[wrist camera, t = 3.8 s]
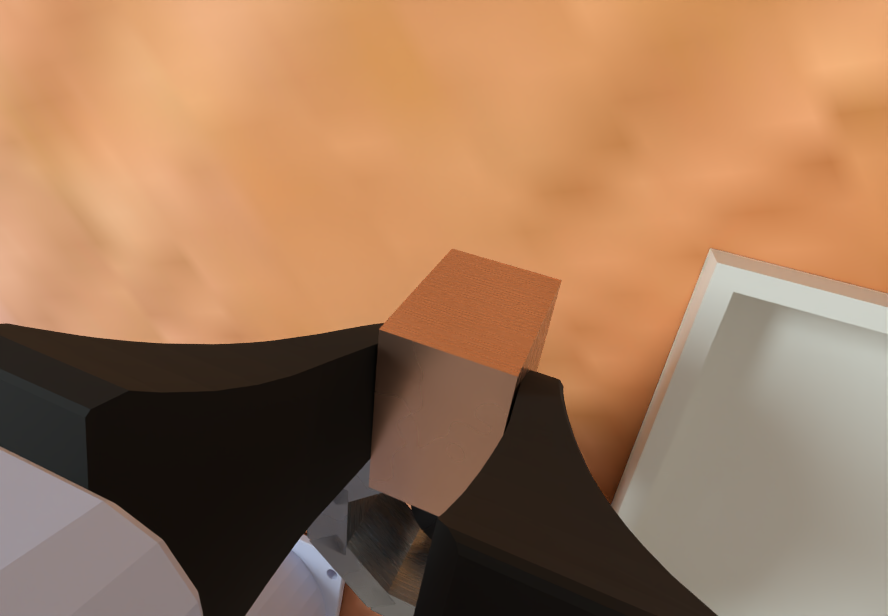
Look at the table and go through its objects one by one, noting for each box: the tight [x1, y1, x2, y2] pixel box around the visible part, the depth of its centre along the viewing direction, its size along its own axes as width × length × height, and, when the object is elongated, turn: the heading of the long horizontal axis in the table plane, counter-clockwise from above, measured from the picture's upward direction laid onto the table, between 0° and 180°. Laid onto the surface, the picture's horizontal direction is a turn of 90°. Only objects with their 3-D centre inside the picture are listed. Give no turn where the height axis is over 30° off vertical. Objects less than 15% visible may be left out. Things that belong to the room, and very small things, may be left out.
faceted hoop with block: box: [307, 249, 561, 616], centre depth 13 cm, size 11×7×3 cm, turn 167°
